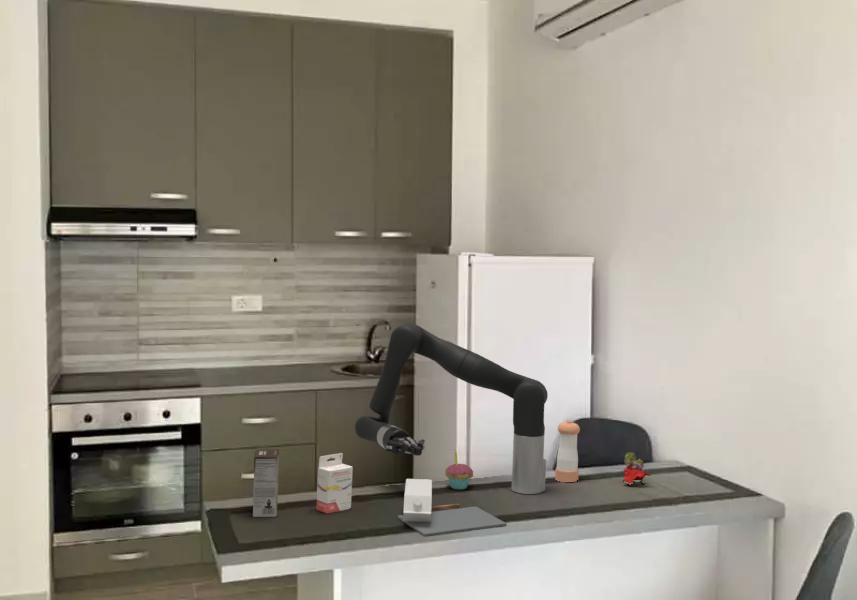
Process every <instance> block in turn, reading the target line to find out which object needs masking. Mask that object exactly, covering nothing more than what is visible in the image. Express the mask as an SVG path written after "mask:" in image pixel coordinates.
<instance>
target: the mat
mask: <svg viewBox="0 0 857 600" xmlns="http://www.w3.org/2000/svg"><path fill="white" fill-rule="evenodd" d="M397 519H399V520H400V521H401V522H403V523H405V525H407V526H409V527H410V528H412V529H413V530H414V531H416V532H417V533H418V534H420V535H422V536H423V537H429V536H438V535H445V534H452V533H454V534H455V533H459V532H460V533H461V532H468V531H476V530H477V531H478V530H484V529H493V528H499V527H506V526H507V525H508V524H507V522H505V521H503V520H502V519H499V518H498V517H496V516H494V515H493V514H491V513H489V512H487V511H485V510H483V509H481V508H480V507H478V506H470V507H469V506H468V507H462V508H461V507H459V509H450V510H442V511H433V512H431V522H407V521H403V514H401V515H400V514H399V515H397Z"/></svg>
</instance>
